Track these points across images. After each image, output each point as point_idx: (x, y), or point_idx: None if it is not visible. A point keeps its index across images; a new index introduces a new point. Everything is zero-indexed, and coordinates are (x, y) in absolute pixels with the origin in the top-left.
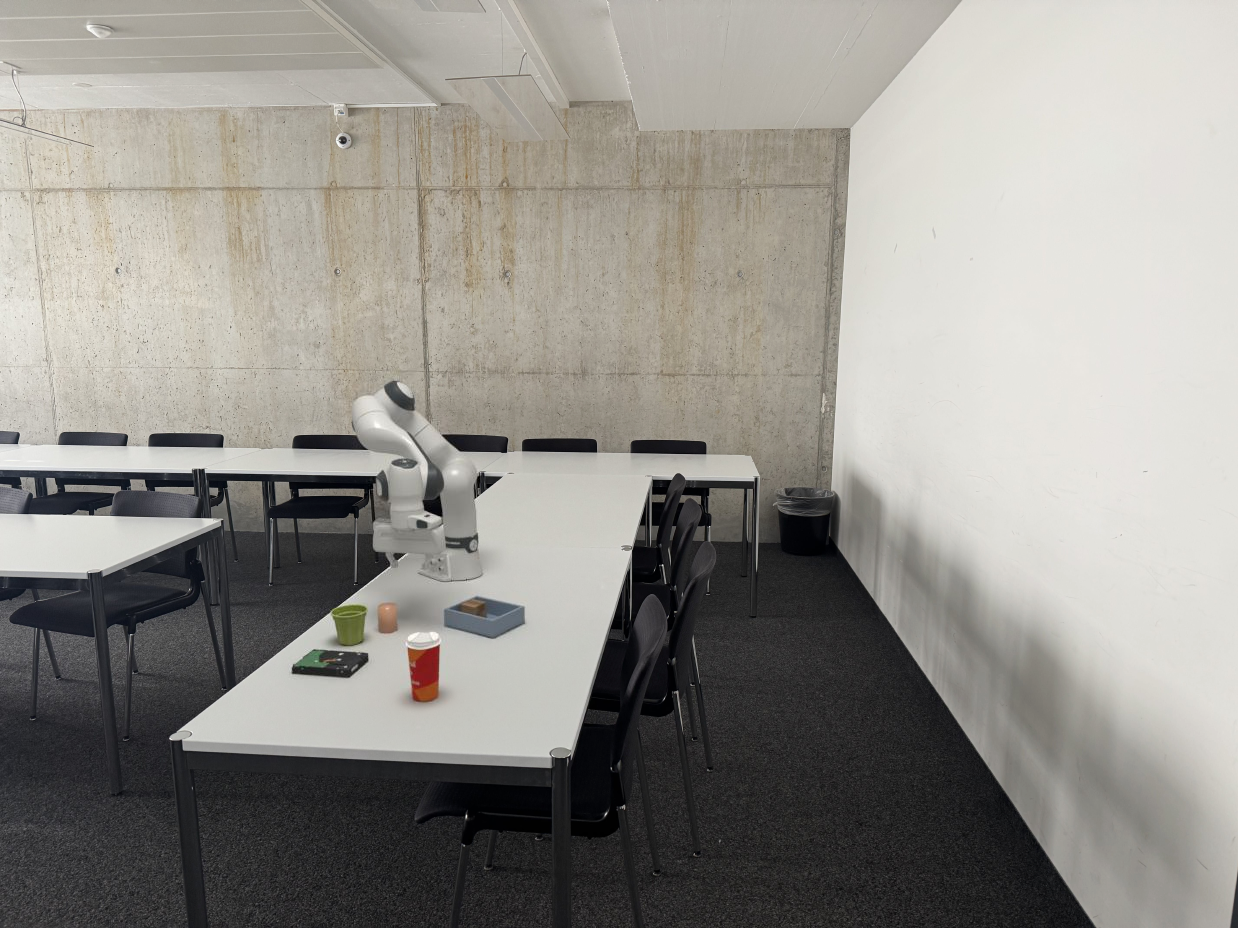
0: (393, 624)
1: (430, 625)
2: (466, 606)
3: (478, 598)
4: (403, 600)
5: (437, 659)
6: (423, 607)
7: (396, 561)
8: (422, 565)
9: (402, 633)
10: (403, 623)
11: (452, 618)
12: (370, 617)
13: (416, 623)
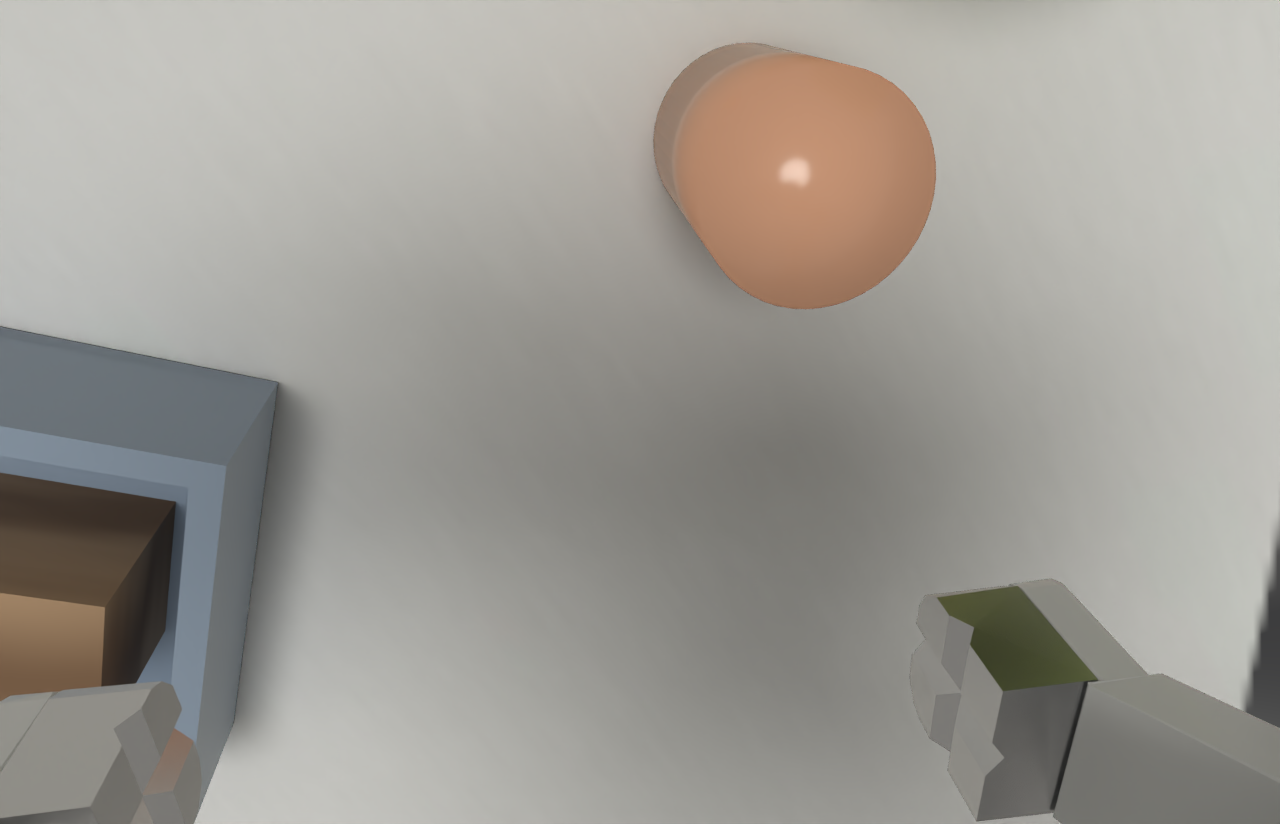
0: (673, 116)
1: (418, 362)
2: (19, 586)
3: None
4: (921, 724)
5: None
6: (707, 666)
7: (992, 761)
8: (85, 766)
9: (556, 95)
10: (685, 331)
11: (124, 402)
12: (1033, 366)
13: (571, 366)
